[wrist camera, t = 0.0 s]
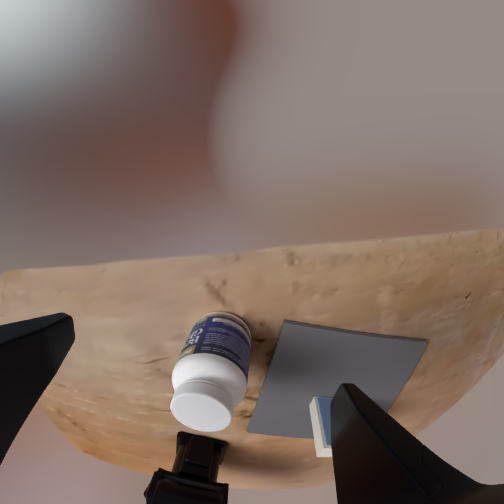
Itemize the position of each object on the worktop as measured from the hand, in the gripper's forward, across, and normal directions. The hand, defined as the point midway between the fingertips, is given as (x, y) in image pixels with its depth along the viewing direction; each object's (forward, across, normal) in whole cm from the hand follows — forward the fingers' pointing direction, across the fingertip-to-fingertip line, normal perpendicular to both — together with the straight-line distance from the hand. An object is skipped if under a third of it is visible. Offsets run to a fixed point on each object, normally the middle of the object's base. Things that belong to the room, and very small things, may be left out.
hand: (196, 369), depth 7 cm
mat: (+15, -13, +13) cm, 24 cm away
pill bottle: (+15, 0, +8) cm, 17 cm away
